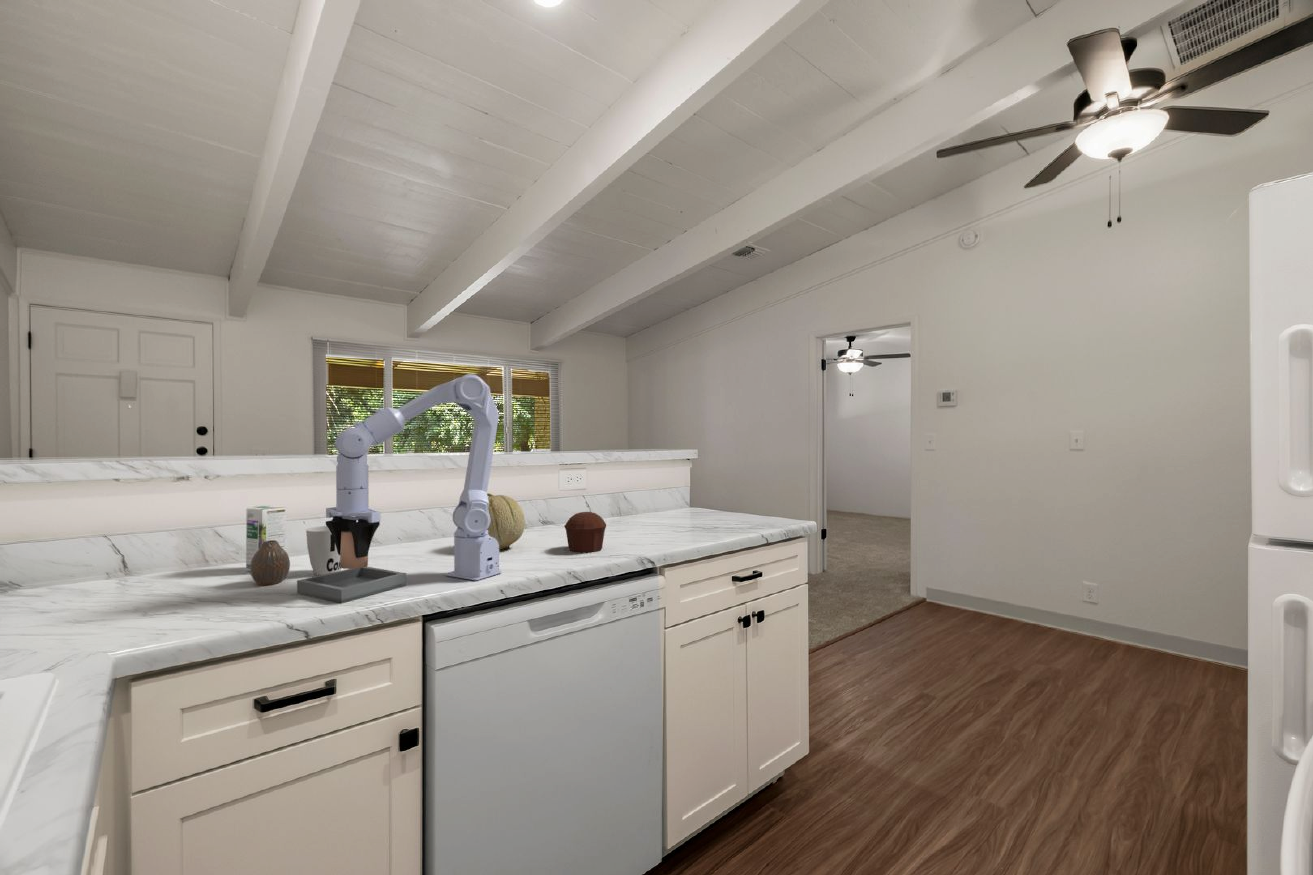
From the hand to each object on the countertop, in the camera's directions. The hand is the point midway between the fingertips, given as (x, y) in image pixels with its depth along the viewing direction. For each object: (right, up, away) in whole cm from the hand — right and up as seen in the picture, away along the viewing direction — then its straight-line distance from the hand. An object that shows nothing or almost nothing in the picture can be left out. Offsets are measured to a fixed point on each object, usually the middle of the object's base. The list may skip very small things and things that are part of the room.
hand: (352, 555), depth 115 cm
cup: (-13, -7, +14) cm, 20 cm away
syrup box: (-29, -7, +16) cm, 34 cm away
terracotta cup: (0, -2, 0) cm, 2 cm away
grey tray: (0, -7, 0) cm, 7 cm away
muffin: (+42, -7, +39) cm, 58 cm away
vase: (-20, -7, +5) cm, 22 cm away
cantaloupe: (+18, -7, +40) cm, 45 cm away
